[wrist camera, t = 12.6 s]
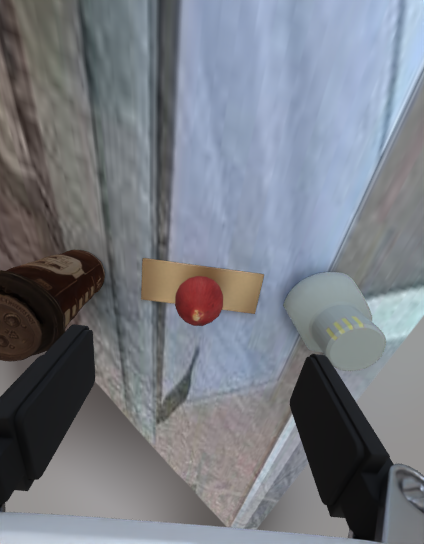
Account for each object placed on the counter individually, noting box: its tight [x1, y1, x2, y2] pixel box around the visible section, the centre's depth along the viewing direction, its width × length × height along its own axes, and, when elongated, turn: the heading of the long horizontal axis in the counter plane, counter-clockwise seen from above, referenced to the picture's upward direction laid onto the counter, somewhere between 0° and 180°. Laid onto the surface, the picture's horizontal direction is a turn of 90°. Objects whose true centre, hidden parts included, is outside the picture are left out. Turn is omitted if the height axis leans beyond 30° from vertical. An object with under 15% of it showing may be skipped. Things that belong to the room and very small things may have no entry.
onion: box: [175, 276, 223, 326], centre depth 28 cm, size 6×6×8 cm
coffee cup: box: [0, 250, 105, 361], centre depth 25 cm, size 9×8×13 cm
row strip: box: [141, 258, 264, 314], centre depth 32 cm, size 16×6×1 cm, turn 82°
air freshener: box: [283, 272, 386, 371], centre depth 28 cm, size 11×8×10 cm
